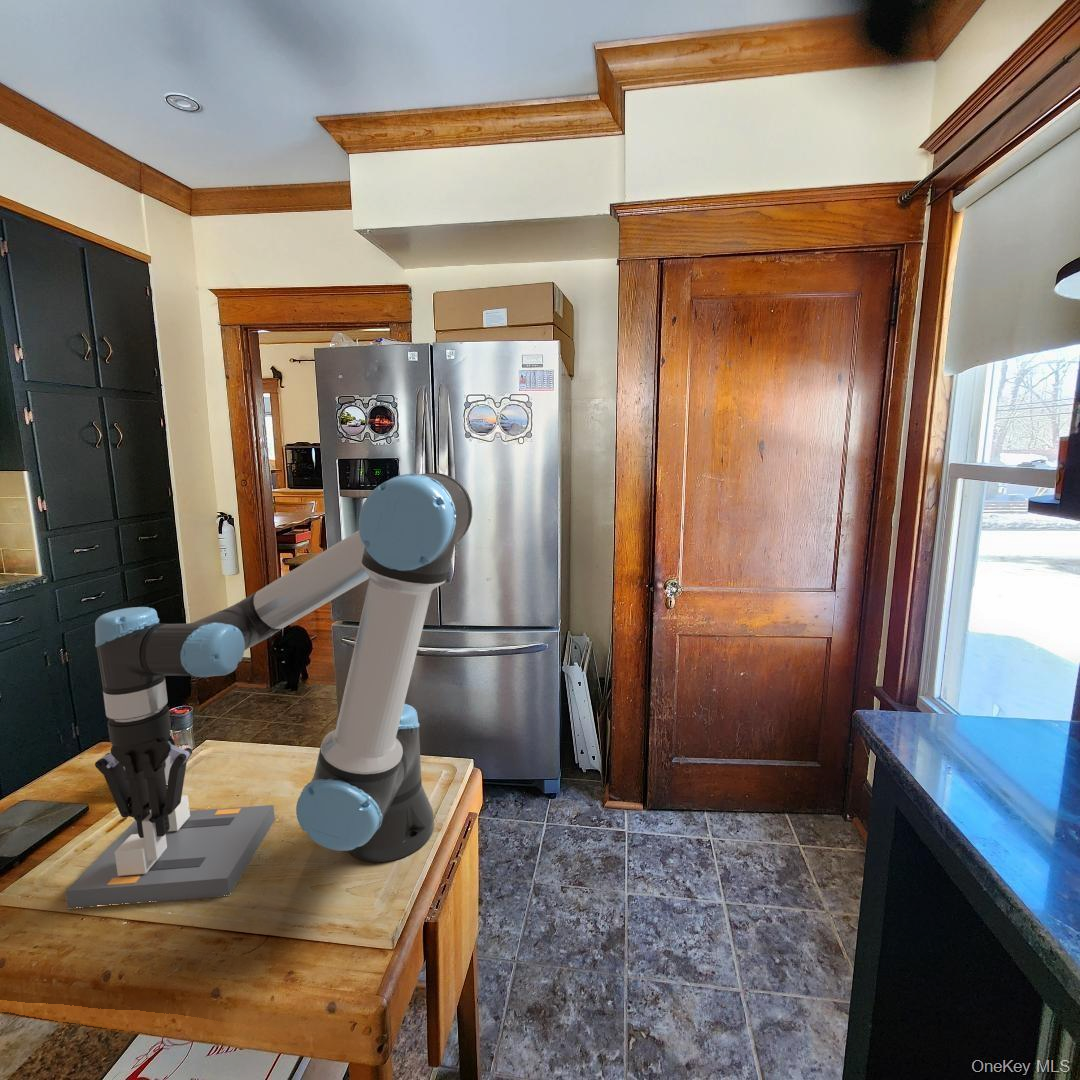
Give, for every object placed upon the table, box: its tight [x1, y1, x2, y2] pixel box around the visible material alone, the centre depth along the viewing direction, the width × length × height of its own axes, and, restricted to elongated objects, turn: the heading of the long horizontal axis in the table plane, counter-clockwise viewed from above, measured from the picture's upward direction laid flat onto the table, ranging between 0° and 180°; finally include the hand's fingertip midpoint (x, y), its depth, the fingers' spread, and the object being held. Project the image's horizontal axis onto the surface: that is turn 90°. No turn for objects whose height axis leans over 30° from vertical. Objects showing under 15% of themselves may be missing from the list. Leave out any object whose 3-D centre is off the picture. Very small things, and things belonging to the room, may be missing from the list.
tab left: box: [114, 834, 161, 876], centre depth 86 cm, size 4×4×4 cm
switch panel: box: [64, 804, 276, 909], centre depth 92 cm, size 23×18×3 cm
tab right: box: [150, 794, 191, 831], centre depth 96 cm, size 4×4×4 cm
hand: (157, 853), depth 86 cm, fingers closed
